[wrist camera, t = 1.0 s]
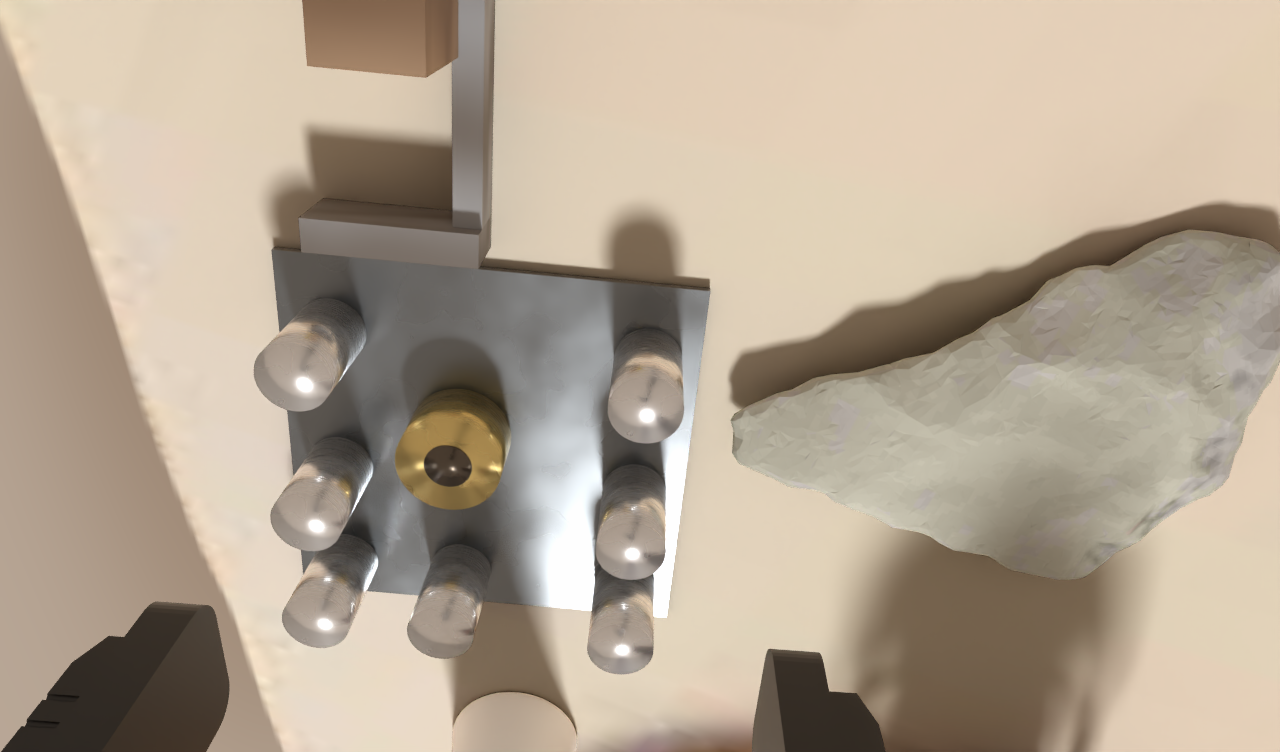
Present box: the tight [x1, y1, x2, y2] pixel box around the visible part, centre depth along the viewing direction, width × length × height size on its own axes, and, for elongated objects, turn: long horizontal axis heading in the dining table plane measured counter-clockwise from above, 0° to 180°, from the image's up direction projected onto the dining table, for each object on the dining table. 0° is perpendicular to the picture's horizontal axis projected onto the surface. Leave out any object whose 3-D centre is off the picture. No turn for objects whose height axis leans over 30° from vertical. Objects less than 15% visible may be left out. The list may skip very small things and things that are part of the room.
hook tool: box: [298, 0, 495, 269], centre depth 27 cm, size 12×6×6 cm, turn 175°
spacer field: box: [254, 247, 710, 674], centre depth 35 cm, size 16×16×4 cm
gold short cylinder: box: [395, 389, 511, 510], centre depth 35 cm, size 4×4×2 cm
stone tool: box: [731, 229, 1280, 580], centre depth 34 cm, size 15×4×20 cm
